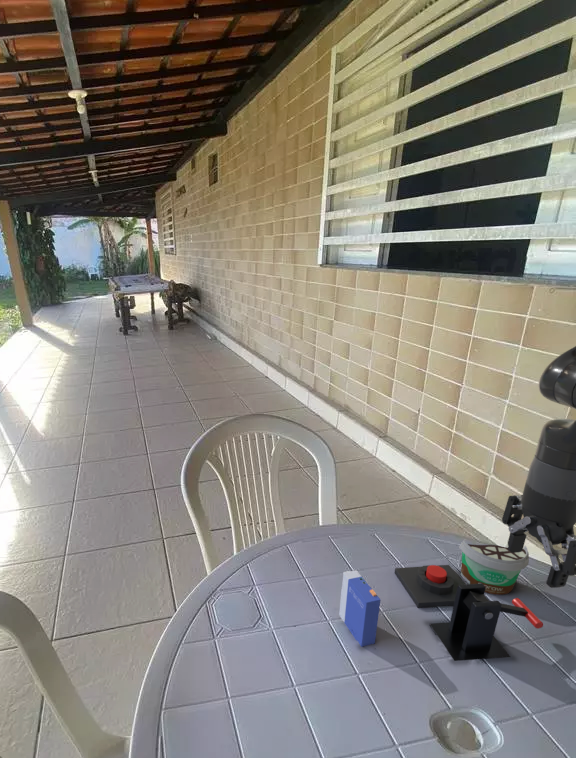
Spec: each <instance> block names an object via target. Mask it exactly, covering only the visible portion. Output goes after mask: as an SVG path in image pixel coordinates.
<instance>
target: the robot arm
mask: <svg viewBox="0 0 576 758" xmlns="http://www.w3.org/2000/svg"><path fill="white" fill-rule="evenodd" d="M538 390H539V392H540V394H541V395H542V397H544V398H545V399H547V400H548V401H550V402H553V403H556V404H559V405H562V406H565V407H568V408H572V409H573V410H576V345H574V346H573V347H571V348H569V349H567V350H566V351H564V352H562V353H561V354H559V355H558V356H556V357H555V358H554V359H553V360H551V361H550V362H549V363H548V364H547V365H546V367H544V369H543V371H542V372H541V373H540V376H539V379H538ZM501 521H502V524H504V525H507V526H508V532H509V535H508V536H509V537H508V540H507V548H508V550H509V551H510V552H511V553H516V552H521V551H522V550H523V549H524V546H525V543H526V539H527V534H529V535H531V536H532V537H534V538H535V539H536V540H537V541H538V542H539V543H540V544H542V546H543V549H544V553H545V554H546V555H548V556H549V559H550V562H551V567H550V569H549V572H548V576H547V579H546V582H545V584H546V585H547V586H548V587H549V588H551V589H555V588H563V587H566V586H567V582H568V579H569V576H576V534H575V530H574V529H575V528H574V526H575V525H576V418H575V419H573V418H572V419H570V418H554V419H550V420H548V421H546V422H545V423H544V424H543V425H542V428H541V430H540V433H539V437H538V440H537V444H536V449H535V454H534V456H533V459H532V461H531V463H530V465H529V468H528V473H527V475H526V480H525V483H524V488H523V491H522V494H514V495H509V496H508V498H507V501H506V504H505V508H504V510H503V515H502V518H501ZM526 533H527V534H526ZM557 545H560V546H561V547H560V548H554V546H557ZM560 555H561V558H562V561H561V560H560Z"/></svg>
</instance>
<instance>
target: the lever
mask: <svg viewBox="0 0 576 758" xmlns="http://www.w3.org/2000/svg"><path fill="white" fill-rule="evenodd" d="M485 601H490V600H489V598H488V597H487V596H486V594H485V593H484V594H480V593H475V592H471V591H470V592H469V593H468V595H467V596H466V598H465V599H464V601H463V602H464V603H465V604H466V605H467V607H468V608H469V609H470V610H471V607H472V603H473V602H485ZM500 603H501V605H502V606H501V610H500V613H506V614H510V615H515V616H518V617H519V616H520V617H524V618H525V619H527V621H528V622H529V623H530V624H531V625H532V626H533V627H534V628H535V629H542V628H543V627H544V622H543V621H542V620H540V618H538V616H536V614H535V613H534V612H533V611H532V610H531V609H530V608H529V607H528V606H527V604H525V603H524V602H523V601H522V600H521V599H520V598H519V597H515V598H513V599H512V600H511V604H512V605H511V604H507V603H502V602H500Z"/></svg>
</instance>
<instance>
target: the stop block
mask: <svg viewBox="0 0 576 758" xmlns="http://www.w3.org/2000/svg"><path fill="white" fill-rule="evenodd" d="M430 565H431V564H429V565H422V566H408V567H395V568H394V573H393V574H394V575H395V576H396V578H397V580H398V581H399V582H400V584H401V585H402V587H403V588H404V590H405V592H406V593H407V594H408V595H409V597H410V599H411V600H412V602H413V603H414V604H415V606H416V608H417V609H427V608H441V607H442V608H443V607H453V606H454V602H455V597H456V592H457V588H458V585H467V583H465V582H464V580H463V579H462V578H461V577H460V576H459V574H457V573H456V571H455V569H453V568H452V566H450V564H440V565H436V566H439V567H441V568H443V569H444V570H445V571H446V573H447V576H446V581H445V582H444V583H440V584H439V583H435V582H432V581H430V580H429V579H428V578H427V577H426V571H427V567H428V566H430Z"/></svg>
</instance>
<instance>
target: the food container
mask: <svg viewBox="0 0 576 758" xmlns="http://www.w3.org/2000/svg"><path fill="white" fill-rule="evenodd" d="M458 548H459V550H460V551H461V566H460V576H461V577H462V580H463V581H465V582H466V584H483V585H484V586H485V587H486V588H485V593H486V594H490V595H496V596H497V595H498V596H501V595H502V596H503V595H508V594H510V593H511V592H512V591H513V589H514V587H515V585H516V582H517V580H518V578H519V576H520V573H521V571H522V570H524V569H526V568H527V566H529V564H530V558H529V557H530V556H529V551H528V547H527V545H524V547H523V550H522V551H521V552H516V553H511V552H510V551H509V550H508V546H507V547H506V546H502V545H496V544H470V543H467V542H466V540H465V539H463V541H461V543H460V545H458Z"/></svg>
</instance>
